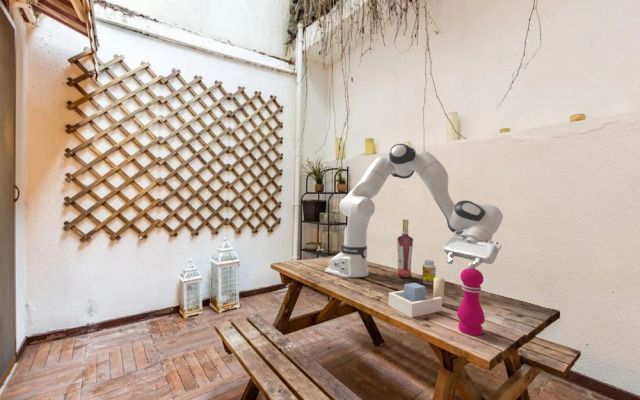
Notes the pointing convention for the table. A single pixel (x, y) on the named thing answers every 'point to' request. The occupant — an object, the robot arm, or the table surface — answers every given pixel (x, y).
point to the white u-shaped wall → (414, 304)
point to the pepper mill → (471, 302)
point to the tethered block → (423, 290)
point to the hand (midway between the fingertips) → (459, 265)
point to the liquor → (404, 252)
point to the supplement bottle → (428, 272)
